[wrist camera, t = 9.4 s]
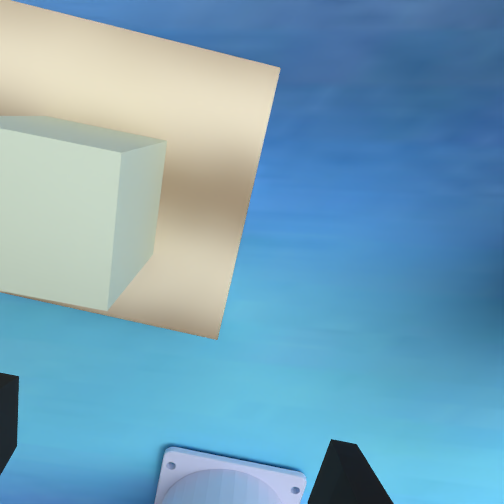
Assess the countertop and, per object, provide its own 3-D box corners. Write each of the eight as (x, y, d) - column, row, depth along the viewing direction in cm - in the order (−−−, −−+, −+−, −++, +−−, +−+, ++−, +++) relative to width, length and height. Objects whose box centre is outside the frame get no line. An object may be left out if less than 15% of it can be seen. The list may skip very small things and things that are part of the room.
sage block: (153, 254, 16) (107, 311, 12) (41, 232, 16) (-51, 281, 11) (167, 140, 15) (121, 152, 10) (45, 115, 15) (-60, 116, 10)
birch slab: (224, 308, 20) (217, 339, 18) (4, 259, 20) (-40, 283, 17) (278, 75, 17) (280, 68, 14) (13, 10, 16) (-40, -13, 14)
